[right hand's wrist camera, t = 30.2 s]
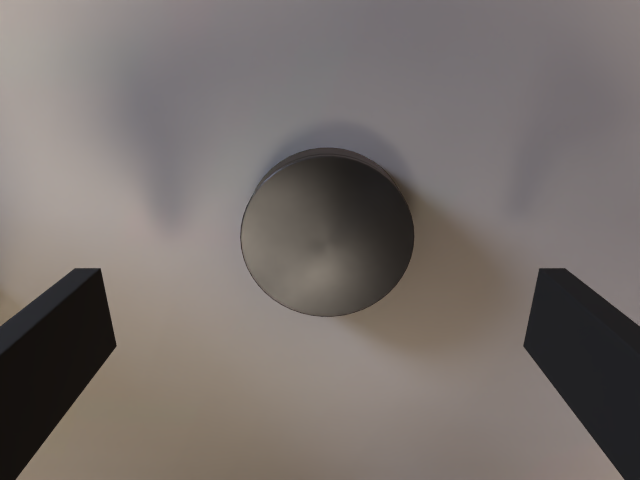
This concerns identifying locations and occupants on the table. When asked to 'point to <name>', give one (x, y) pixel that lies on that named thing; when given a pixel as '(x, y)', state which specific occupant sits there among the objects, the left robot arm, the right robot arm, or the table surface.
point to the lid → (327, 233)
